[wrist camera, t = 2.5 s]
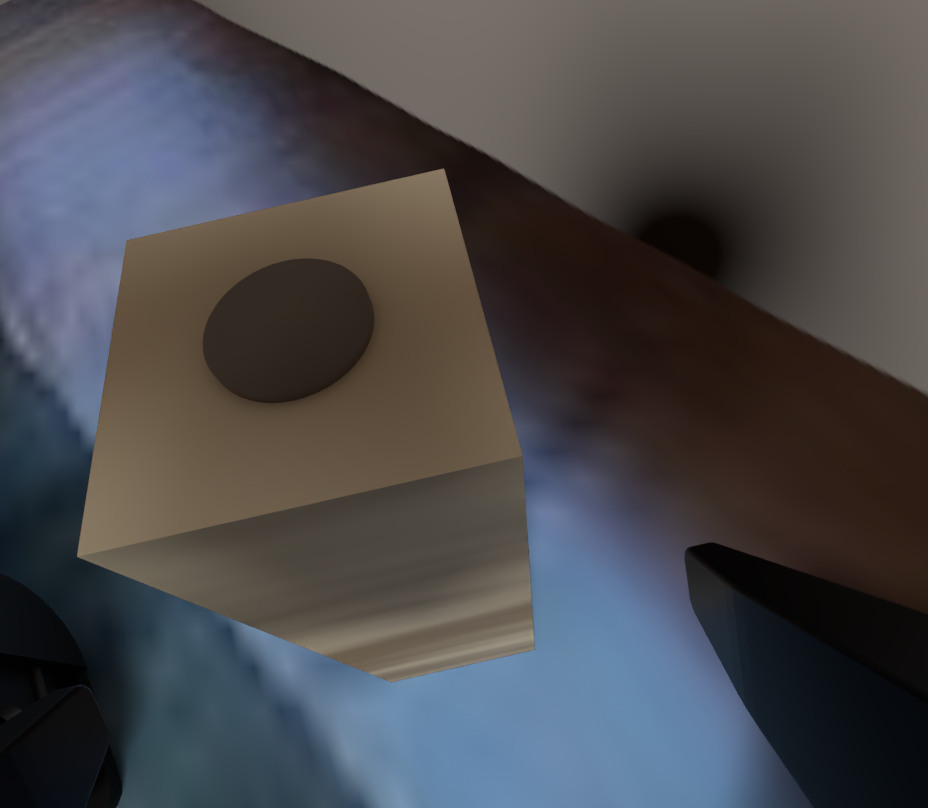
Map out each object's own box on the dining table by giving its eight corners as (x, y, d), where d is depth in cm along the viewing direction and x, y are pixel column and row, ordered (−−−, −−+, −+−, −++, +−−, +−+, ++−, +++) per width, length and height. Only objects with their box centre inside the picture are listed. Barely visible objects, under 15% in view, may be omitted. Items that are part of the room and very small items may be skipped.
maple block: (534, 649, 18) (522, 448, 6) (391, 682, 18) (65, 552, 6) (501, 512, 20) (441, 159, 8) (374, 541, 20) (119, 232, 8)
